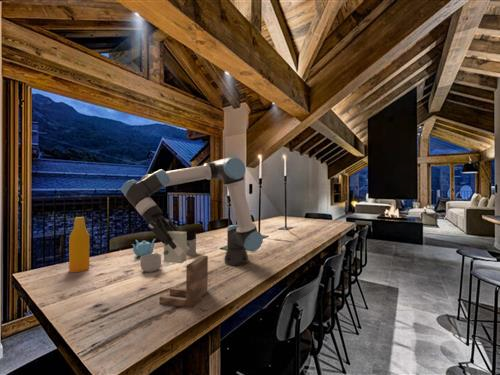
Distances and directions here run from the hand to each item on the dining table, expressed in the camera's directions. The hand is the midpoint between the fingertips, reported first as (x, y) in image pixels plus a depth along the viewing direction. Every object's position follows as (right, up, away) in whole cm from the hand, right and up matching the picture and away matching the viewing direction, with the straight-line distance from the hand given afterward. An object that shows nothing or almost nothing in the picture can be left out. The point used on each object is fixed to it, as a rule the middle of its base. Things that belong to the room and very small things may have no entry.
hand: (184, 252), depth 97 cm
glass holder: (-16, -19, +64) cm, 69 cm away
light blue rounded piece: (-44, -19, +60) cm, 77 cm away
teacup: (-28, -20, +35) cm, 49 cm away
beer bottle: (-68, -19, +34) cm, 78 cm away
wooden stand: (-1, -20, +3) cm, 20 cm away
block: (-4, -4, +1) cm, 6 cm away
